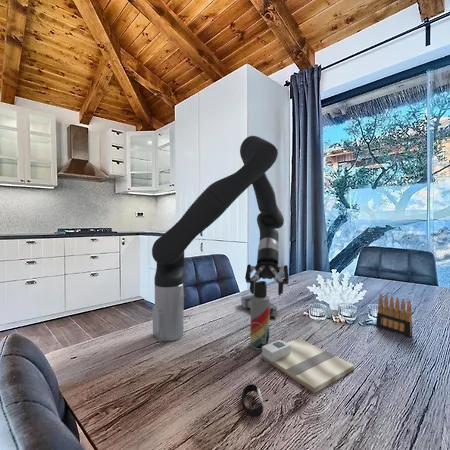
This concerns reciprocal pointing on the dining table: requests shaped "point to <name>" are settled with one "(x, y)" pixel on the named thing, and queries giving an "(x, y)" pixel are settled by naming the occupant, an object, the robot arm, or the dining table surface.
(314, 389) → the plywood panel
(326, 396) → the dining table surface
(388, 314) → the ammunition clip
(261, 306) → the lotion bottle
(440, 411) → the dining table surface
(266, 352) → the block
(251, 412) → the watch
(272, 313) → the handheld device
